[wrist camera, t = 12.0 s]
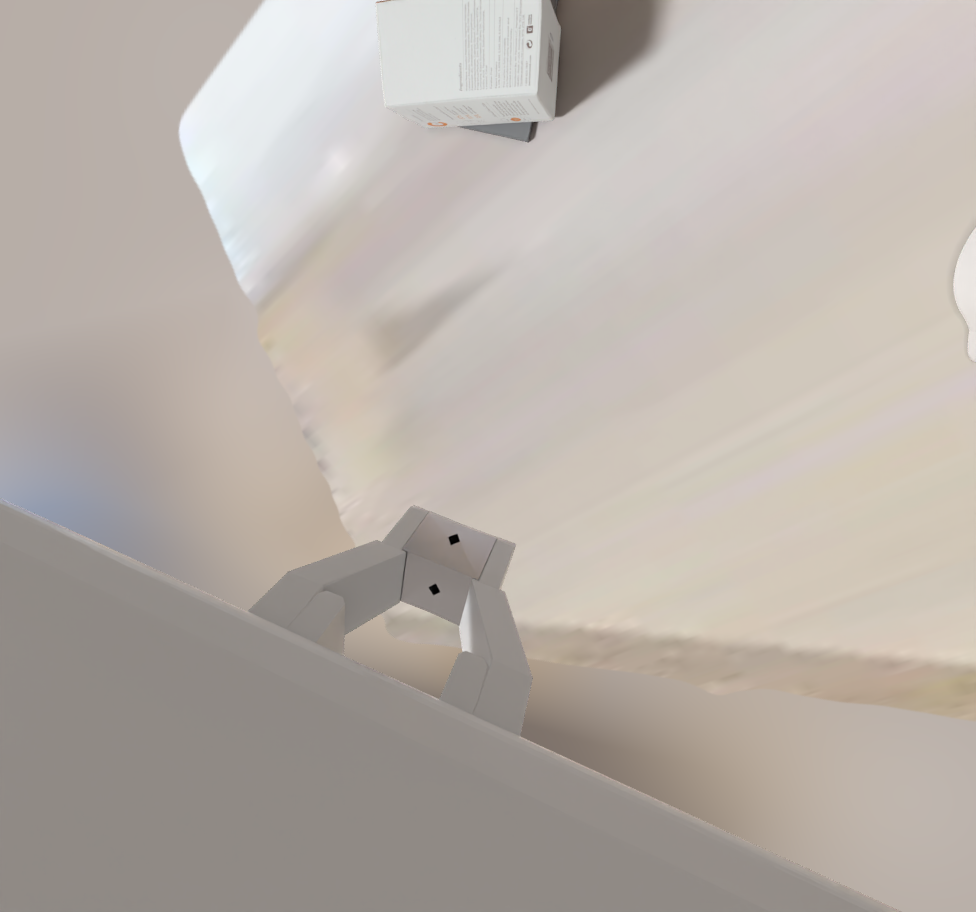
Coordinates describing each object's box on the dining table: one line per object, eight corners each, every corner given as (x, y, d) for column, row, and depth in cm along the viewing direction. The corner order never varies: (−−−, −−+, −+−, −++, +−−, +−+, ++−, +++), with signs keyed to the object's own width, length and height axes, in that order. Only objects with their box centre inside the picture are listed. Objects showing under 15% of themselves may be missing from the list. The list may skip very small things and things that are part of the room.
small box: (545, -30, 27) (372, -1, 30) (538, 96, 30) (382, 109, 33) (561, 24, 33) (419, 42, 37) (555, 122, 36) (424, 130, 40)
